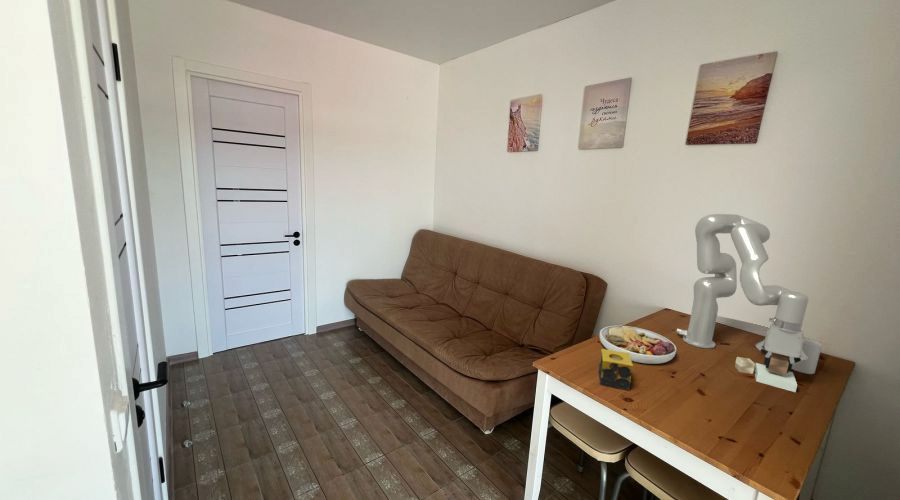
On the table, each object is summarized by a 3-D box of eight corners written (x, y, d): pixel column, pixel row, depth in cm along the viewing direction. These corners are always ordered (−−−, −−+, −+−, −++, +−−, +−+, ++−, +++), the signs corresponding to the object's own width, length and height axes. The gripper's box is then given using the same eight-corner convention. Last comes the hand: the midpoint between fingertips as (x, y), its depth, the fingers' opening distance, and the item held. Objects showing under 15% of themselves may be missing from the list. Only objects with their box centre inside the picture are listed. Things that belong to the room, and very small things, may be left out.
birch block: (739, 372, 143) (741, 361, 142) (734, 366, 147) (736, 356, 146) (752, 374, 142) (755, 364, 141) (747, 368, 146) (749, 358, 145)
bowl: (589, 350, 157) (591, 333, 155) (609, 329, 179) (611, 314, 178) (667, 376, 138) (671, 357, 137) (679, 349, 161) (682, 333, 159)
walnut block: (768, 370, 136) (771, 358, 135) (766, 365, 140) (769, 353, 139) (785, 375, 133) (788, 363, 132) (784, 370, 137) (787, 358, 136)
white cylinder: (820, 375, 143) (827, 347, 140) (796, 372, 144) (803, 344, 142) (804, 364, 151) (811, 338, 148) (782, 362, 152) (789, 336, 150)
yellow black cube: (626, 377, 136) (630, 352, 134) (630, 391, 127) (634, 366, 125) (597, 371, 139) (601, 347, 137) (599, 385, 130) (602, 360, 128)
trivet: (756, 381, 136) (757, 374, 136) (754, 369, 145) (755, 362, 144) (795, 392, 130) (797, 384, 129) (791, 379, 139) (792, 372, 138)
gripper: (758, 321, 135) (748, 365, 139) (821, 334, 125) (809, 381, 129) (756, 315, 141) (747, 358, 145) (817, 327, 131) (805, 373, 135)
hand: (776, 368), depth 137 cm, fingers closed on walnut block, 5 cm apart
